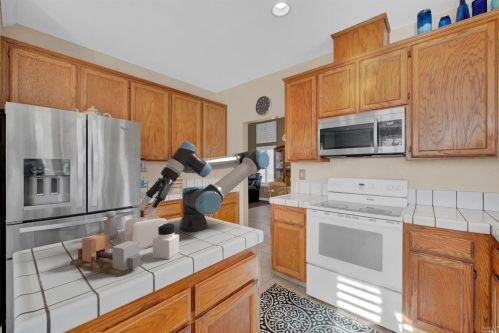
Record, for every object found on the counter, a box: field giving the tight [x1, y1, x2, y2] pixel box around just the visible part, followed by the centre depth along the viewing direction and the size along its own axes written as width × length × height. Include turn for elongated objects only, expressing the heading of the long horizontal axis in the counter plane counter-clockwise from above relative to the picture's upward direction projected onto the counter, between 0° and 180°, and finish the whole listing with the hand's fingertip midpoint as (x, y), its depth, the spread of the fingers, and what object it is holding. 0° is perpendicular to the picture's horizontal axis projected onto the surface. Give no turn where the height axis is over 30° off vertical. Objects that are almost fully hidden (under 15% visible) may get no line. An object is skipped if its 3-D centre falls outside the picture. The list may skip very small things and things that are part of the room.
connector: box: [112, 241, 142, 271], centre depth 71 cm, size 7×6×7 cm
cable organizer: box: [124, 214, 168, 251], centre depth 94 cm, size 15×11×12 cm
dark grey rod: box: [96, 251, 113, 260], centre depth 76 cm, size 19×2×2 cm, turn 70°
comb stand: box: [69, 247, 144, 277], centre depth 75 cm, size 24×9×5 cm, turn 70°
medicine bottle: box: [152, 222, 180, 260], centre depth 83 cm, size 7×7×12 cm
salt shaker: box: [103, 210, 119, 241], centre depth 102 cm, size 6×6×13 cm
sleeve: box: [81, 233, 110, 262], centre depth 77 cm, size 5×6×8 cm
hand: (143, 211), depth 90 cm, fingers open, 13 cm apart
